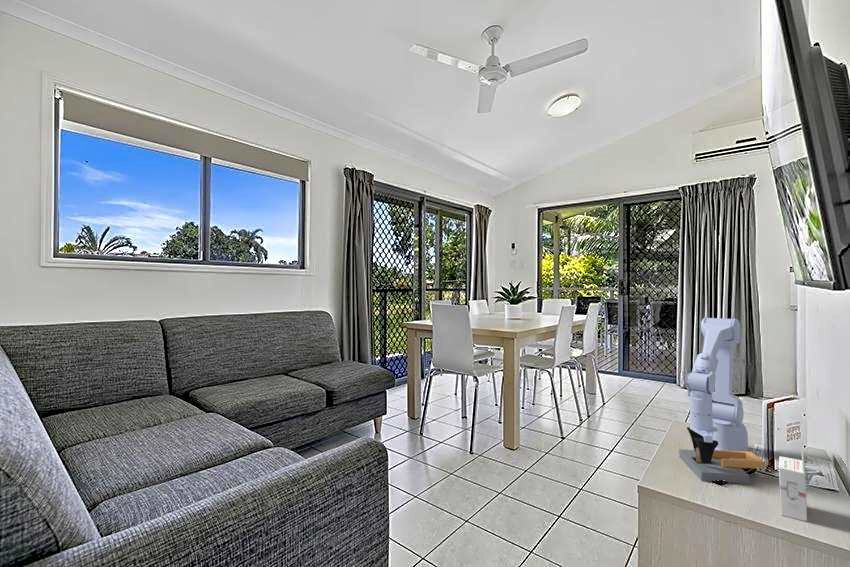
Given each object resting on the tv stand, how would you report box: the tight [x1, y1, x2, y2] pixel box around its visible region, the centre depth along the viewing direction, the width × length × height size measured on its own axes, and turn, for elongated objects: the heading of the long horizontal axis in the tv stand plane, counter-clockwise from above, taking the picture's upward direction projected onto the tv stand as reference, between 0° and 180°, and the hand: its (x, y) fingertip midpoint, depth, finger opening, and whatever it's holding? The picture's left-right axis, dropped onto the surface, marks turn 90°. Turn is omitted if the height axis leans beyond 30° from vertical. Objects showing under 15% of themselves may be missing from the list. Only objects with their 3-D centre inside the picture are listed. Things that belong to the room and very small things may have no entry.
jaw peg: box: [696, 447, 708, 464], centre depth 125 cm, size 3×3×6 cm
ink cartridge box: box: [778, 449, 808, 522], centre depth 102 cm, size 9×5×15 cm, turn 139°
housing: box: [678, 449, 750, 485], centre depth 124 cm, size 12×16×2 cm
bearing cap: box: [712, 450, 766, 470], centre depth 123 cm, size 11×7×2 cm, turn 78°
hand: (702, 457), depth 125 cm, fingers open, 7 cm apart
